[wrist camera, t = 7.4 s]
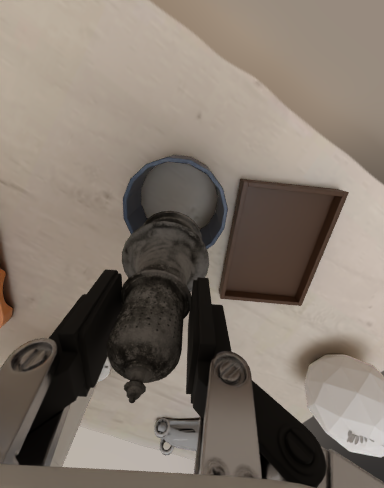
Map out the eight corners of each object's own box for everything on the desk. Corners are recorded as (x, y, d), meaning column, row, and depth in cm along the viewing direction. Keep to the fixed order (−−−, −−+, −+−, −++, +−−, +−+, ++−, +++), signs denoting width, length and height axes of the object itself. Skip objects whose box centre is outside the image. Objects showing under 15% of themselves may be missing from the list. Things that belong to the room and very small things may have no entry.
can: (138, 233, 30) (125, 254, 25) (137, 150, 26) (120, 151, 20) (213, 241, 31) (218, 263, 25) (226, 160, 26) (235, 164, 20)
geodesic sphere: (274, 410, 39) (362, 509, 29) (302, 361, 33) (425, 465, 23) (310, 370, 48) (387, 435, 38) (337, 325, 42) (437, 389, 32)
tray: (219, 290, 35) (220, 298, 33) (240, 178, 27) (243, 181, 25) (295, 297, 35) (301, 305, 33) (338, 189, 27) (349, 192, 26)
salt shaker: (169, 191, 15) (113, 289, 4) (220, 243, 17) (269, 405, 6) (120, 240, 17) (-8, 399, 6) (171, 283, 19) (141, 466, 8)
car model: (152, 416, 51) (148, 442, 47) (251, 413, 50) (256, 440, 46) (159, 439, 56) (156, 464, 51) (249, 436, 55) (254, 462, 50)
